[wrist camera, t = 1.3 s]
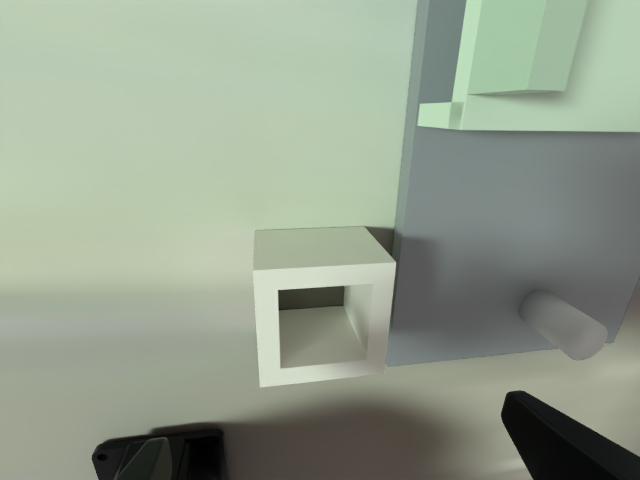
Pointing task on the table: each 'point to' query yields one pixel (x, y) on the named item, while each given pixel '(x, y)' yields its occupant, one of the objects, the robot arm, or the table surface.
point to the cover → (545, 68)
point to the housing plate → (506, 226)
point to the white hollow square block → (324, 322)
